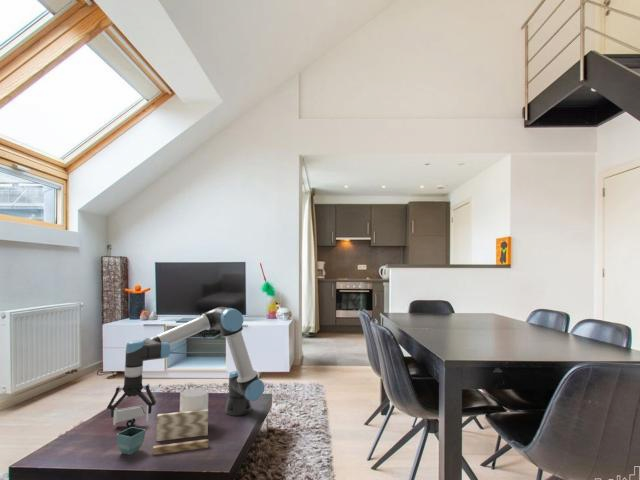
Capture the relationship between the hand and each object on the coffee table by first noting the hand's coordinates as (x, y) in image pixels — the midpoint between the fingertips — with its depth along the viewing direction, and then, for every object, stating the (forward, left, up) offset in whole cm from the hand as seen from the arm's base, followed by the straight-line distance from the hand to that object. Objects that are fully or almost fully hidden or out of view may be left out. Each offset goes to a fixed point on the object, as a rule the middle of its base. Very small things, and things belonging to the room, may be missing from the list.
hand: (131, 422), depth 174 cm
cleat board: (-22, -2, -13) cm, 26 cm away
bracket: (+13, -33, -10) cm, 37 cm away
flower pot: (0, 0, -13) cm, 13 cm away
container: (-27, -21, -14) cm, 37 cm away
